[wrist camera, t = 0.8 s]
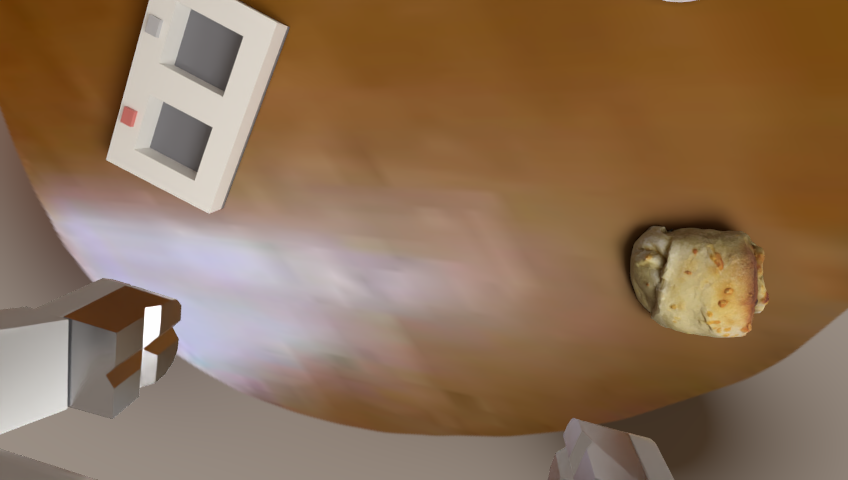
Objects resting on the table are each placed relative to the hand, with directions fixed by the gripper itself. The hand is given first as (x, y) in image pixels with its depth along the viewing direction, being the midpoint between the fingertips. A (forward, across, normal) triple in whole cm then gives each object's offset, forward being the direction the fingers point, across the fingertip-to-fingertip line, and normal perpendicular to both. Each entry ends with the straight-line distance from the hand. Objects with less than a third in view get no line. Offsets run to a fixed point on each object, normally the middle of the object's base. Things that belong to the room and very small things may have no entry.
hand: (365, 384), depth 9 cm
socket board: (+43, +30, +1) cm, 52 cm away
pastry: (+43, -27, +6) cm, 51 cm away
